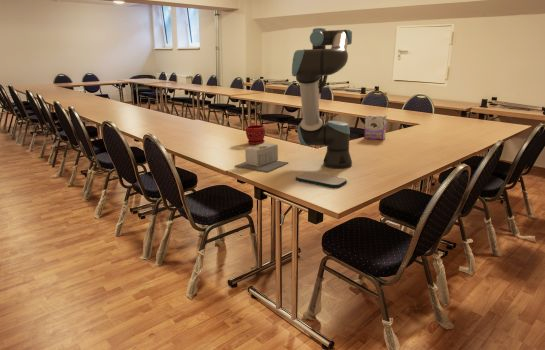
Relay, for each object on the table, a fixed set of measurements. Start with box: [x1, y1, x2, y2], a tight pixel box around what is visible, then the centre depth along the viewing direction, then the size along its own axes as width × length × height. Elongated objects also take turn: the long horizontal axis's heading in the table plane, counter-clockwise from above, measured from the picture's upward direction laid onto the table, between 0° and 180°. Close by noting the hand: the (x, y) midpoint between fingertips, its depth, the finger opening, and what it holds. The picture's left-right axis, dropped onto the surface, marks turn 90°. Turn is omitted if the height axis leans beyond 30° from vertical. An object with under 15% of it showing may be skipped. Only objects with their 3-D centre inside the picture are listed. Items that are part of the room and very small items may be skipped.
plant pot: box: [245, 124, 266, 146], centre depth 262 cm, size 13×13×12 cm
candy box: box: [363, 114, 387, 141], centre depth 267 cm, size 14×6×16 cm, turn 58°
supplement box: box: [244, 142, 279, 166], centre depth 212 cm, size 10×9×17 cm
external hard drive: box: [295, 171, 348, 189], centre depth 179 cm, size 24×12×2 cm, turn 52°
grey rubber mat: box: [234, 160, 289, 173], centre depth 209 cm, size 22×20×1 cm
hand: (318, 99), depth 224 cm, fingers closed
